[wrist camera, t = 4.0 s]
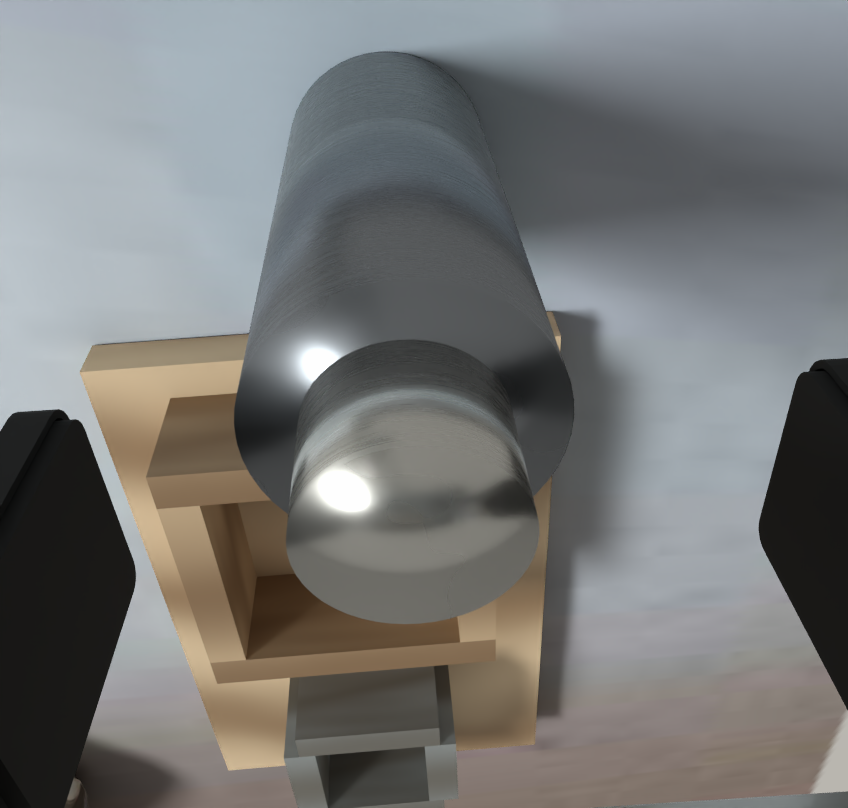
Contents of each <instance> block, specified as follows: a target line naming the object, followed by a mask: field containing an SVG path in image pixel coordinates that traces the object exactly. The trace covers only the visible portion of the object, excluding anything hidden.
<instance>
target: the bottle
mask: <svg viewBox="0 0 848 808" xmlns="http://www.w3.org/2000/svg"><path fill="white" fill-rule="evenodd" d="M573 420H574V398H573V392H572V387H571V382H570V379H569V376H568V373H567V370H566V367H565V365H564V362H563V359H562V356H561V353H560V350H559V347H558V345H557V342H556V339H555V336H554V333H553V330H552V327H551V325H550V322H549V319H548V316H547V313H546V310H545V307H544V305H543V302H542V299H541V296H540V293H539V290H538V287H537V285H536V282H535V279H534V276H533V273H532V270H531V267H530V265H529V262H528V259H527V256H526V253H525V250H524V247H523V245H522V242H521V239H520V236H519V233H518V230H517V227H516V225H515V222H514V219H513V216H512V213H511V210H510V207H509V205H508V202H507V199H506V196H505V193H504V190H503V187H502V185H501V182H500V179H499V176H498V173H497V170H496V168H495V165H494V162H493V159H492V156H491V153H490V150H489V148H488V145H487V142H486V139H485V136H484V133H483V130H482V128H481V125H480V122H479V119H478V116H477V113H476V110H475V108H474V106H473V105H472V103H471V101H470V99H469V97H468V96H467V94H466V93H465V92H464V90H463V89H462V87H461V86H460V85H459V84H458V83H457V82H456V81H455V80H454V79H453V78H452V77H451V76H450V75H448V74H447V73H446V72H445V71H444V70H442V69H440V68H439V67H437V66H436V65H434V64H432V63H430V62H428V61H426V60H424V59H421V58H419V57H415V56H412V55H409V54H404V53H397V52H375V53H368V54H363V55H360V56H356V57H353V58H350V59H348V60H346V61H343V62H341V63H339V64H338V65H336V66H334V67H333V68H331V69H330V70H328V71H327V72H326V73H325V74H323V75H322V76H321V77H320V78H319V79H318V80H317V81H316V82H315V83H314V84H313V85H312V86H311V87H310V89H309V90H308V91H307V93H306V94H305V96H304V97H303V99H302V101H301V103H300V105H299V107H298V109H297V111H296V114H295V117H294V120H293V123H292V128H291V132H290V137H289V142H288V147H287V152H286V157H285V162H284V166H283V171H282V176H281V181H280V186H279V191H278V196H277V200H276V205H275V210H274V215H273V220H272V225H271V230H270V234H269V239H268V244H267V249H266V254H265V259H264V264H263V268H262V273H261V278H260V283H259V288H258V293H257V298H256V302H255V307H254V312H253V317H252V322H251V327H250V332H249V336H248V341H247V346H246V351H245V356H244V361H243V366H242V370H241V375H240V380H239V385H238V390H237V395H236V401H235V406H234V429H235V435H236V442H237V445H238V448H239V451H240V454H241V457H242V460H243V462H244V464H245V466H246V468H247V470H248V472H249V473H250V475H251V477H252V478H253V479H254V481H255V482H256V484H257V485H258V486H259V488H260V489H261V490H262V491H263V492H264V493H265V494H266V495H267V496H268V497H269V499H270V500H271V501H272V502H273V503H275V504H276V505H277V506H278V507H280V508H281V509H282V510H283V511H285V512H286V513H287V514H288V521H287V532H286V548H287V555H288V558H289V561H290V564H291V566H292V568H293V570H294V572H295V574H296V576H297V577H298V578H299V580H300V581H301V582H302V584H303V585H304V586H305V587H306V588H307V589H308V590H309V591H310V592H311V593H312V594H313V595H315V596H316V597H317V598H319V599H320V600H321V601H323V602H324V603H326V604H328V605H330V606H331V607H333V608H335V609H337V610H339V611H342V612H344V613H346V614H349V615H352V616H355V617H358V618H361V619H366V620H370V621H375V622H382V623H390V624H421V623H429V622H436V621H441V620H446V619H451V618H454V617H457V616H461V615H464V614H467V613H469V612H472V611H474V610H477V609H479V608H481V607H483V606H485V605H487V604H488V603H490V602H492V601H493V600H495V599H497V598H498V597H500V596H501V595H503V594H504V593H505V592H506V591H507V590H509V589H510V588H511V587H512V586H513V585H514V584H515V583H516V582H517V581H518V580H519V579H520V578H521V577H522V576H523V574H524V573H525V571H526V570H527V569H528V567H529V565H530V564H531V562H532V560H533V558H534V556H535V553H536V550H537V547H538V541H539V535H540V533H539V520H538V516H537V511H536V507H535V503H534V499H533V496H534V495H536V493H537V492H538V491H539V490H540V489H541V488H542V487H543V486H544V485H545V484H546V482H547V481H548V480H549V478H550V477H551V476H552V474H553V473H554V471H555V470H556V468H557V467H558V465H559V463H560V461H561V459H562V457H563V455H564V453H565V451H566V448H567V445H568V442H569V439H570V436H571V432H572V426H573Z"/></svg>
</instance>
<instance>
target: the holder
mask: <svg viewBox="0 0 848 808" xmlns="http://www.w3.org/2000/svg"><path fill="white" fill-rule="evenodd" d="M546 313H547V316H548V319H549V322H550V325H551V327H552V330H553V333H554V336H555V339H556V342H557V345H558V347H559V350H560V346H561V334H560V332H559V329H558V326H557V324H556V321H555V318H554V315H553V313H552V312H546ZM248 336H249V334H242V335H229V336H215V337H202V338H188V339H175V340H161V341H148V342H134V343H121V344H107V345H94V346H92V347H91V350H90V352H89V354H88V356H87V358H86V360H85V362H84V364H83V366H82V368H81V370H80V374H81V377H82V380H83V382H84V385H85V388H86V390H87V393H88V396H89V398H90V401H91V404H92V406H93V409H94V412H95V414H96V417H97V420H98V422H99V425H100V428H101V430H102V433H103V436H104V438H105V441H106V444H107V446H108V449H109V452H110V455H111V457H112V460H113V463H114V465H115V468H116V471H117V473H118V476H119V479H120V481H121V484H122V487H123V489H124V492H125V495H126V497H127V500H128V503H129V505H130V508H131V511H132V513H133V516H134V519H135V521H136V524H137V527H138V529H139V532H140V535H141V537H142V540H143V543H144V545H145V548H146V551H147V554H148V556H149V559H150V562H151V564H152V567H153V570H154V572H155V575H156V578H157V580H158V583H159V586H160V588H161V591H162V594H163V596H164V599H165V602H166V604H167V607H168V610H169V612H170V615H171V618H172V620H173V623H174V626H175V628H176V631H177V634H178V636H179V639H180V642H181V644H182V647H183V650H184V653H185V655H186V658H187V661H188V663H189V666H190V669H191V671H192V674H193V677H194V679H195V682H196V685H197V687H198V690H199V693H200V695H201V698H202V701H203V703H204V706H205V709H206V711H207V714H208V717H209V719H210V722H211V725H212V727H213V730H214V733H215V735H216V738H217V741H218V743H219V746H220V749H221V752H222V754H223V757H224V760H225V762H226V765H227V768H228V770H238V769H250V768H262V767H274V766H285V765H286V768H287V772H288V775H289V779H290V782H291V786H292V789H293V792H294V796H295V799H296V803H297V806H298V808H444V800H447V799H458V780H457V758H456V751H462V750H473V749H485V748H497V747H509V746H520V745H532V744H535V732H536V716H537V701H538V686H539V670H540V655H541V639H542V624H543V608H544V593H545V577H546V562H547V546H548V531H549V516H550V500H551V485H552V476H551V477H550V478H549V480H548V481H547V482H546V484H545V485H544V486H543V487H542V488H541V489H540V490H539V491H538V492H537V493H536V495H534V496H533V499H534V503H535V507H536V511H537V516H538V520H539V533H540V535H539V541H538V547H537V550H536V553H535V556H534V558H533V560H532V562H531V564H530V565H529V567H528V569H527V570H526V571H525V573H524V574H523V576H522V577H521V578H520V579H519V580H518V581H517V582H516V583H515V584H514V585H513V586H512V587H511V588H510V589H509V590H507V591H506V592H505V593H504V594H503V595H501V596H500V597H498V598H497V599H495V600H493V601H492V602H490V603H488V604H487V605H485V606H483V607H481V608H479V609H477V610H474V611H472V612H469V613H467V614H464V615H461V616H457V617H454V618H451V619H446V620H441V621H436V622H429V623H421V624H390V623H382V622H375V621H370V620H366V619H361V618H358V617H355V616H352V615H349V614H346V613H344V612H342V611H339V610H337V609H335V608H333V607H331V606H330V605H328V604H326V603H324V602H323V601H321V600H320V599H319V598H317V597H316V596H315V595H313V594H312V593H311V592H310V591H309V590H308V589H307V588H306V587H305V586H304V585H303V584H302V582H301V581H300V580H299V578H298V577H297V576H296V574H295V572H294V570H293V568H292V566H291V564H290V561H289V558H288V555H287V548H286V532H287V521H288V514H287V513H286V512H285V511H283V510H282V509H281V508H280V507H278V506H277V505H276V504H275V503H273V502H272V501H271V500H270V499H269V497H268V496H267V495H266V494H265V493H264V492H263V491H262V490H261V489H260V488H259V486H258V485H257V484H256V482H255V481H254V479H253V478H252V477H251V475H250V473H249V472H248V470H247V468H246V466H245V464H244V462H243V460H242V457H241V454H240V451H239V448H238V445H237V442H236V435H235V429H234V406H235V401H236V395H237V390H238V385H239V380H240V375H241V370H242V366H243V361H244V356H245V351H246V346H247V341H248Z"/></svg>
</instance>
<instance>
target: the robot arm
mask: <svg viewBox="0 0 848 808" xmlns="http://www.w3.org/2000/svg"><path fill="white" fill-rule="evenodd" d="M759 536H760V541H761V544H762V547H763V549H764V551H765V553H766V555H767V557H768V559H769V561H770V563H771V565H772V566H773V568H774V570H775V572H776V574H777V576H778V578H779V580H780V582H781V584H782V586H783V587H784V589H785V591H786V593H787V595H788V597H789V599H790V601H791V603H792V605H793V607H794V608H795V610H796V612H797V614H798V616H799V618H800V620H801V622H802V624H803V626H804V628H805V629H806V631H807V633H808V635H809V637H810V639H811V641H812V643H813V645H814V647H815V649H816V650H817V652H818V654H819V656H820V658H821V660H822V662H823V664H824V666H825V668H826V670H827V672H828V673H829V675H830V677H831V679H832V681H833V683H834V685H835V687H836V689H837V691H838V693H839V694H840V696H841V698H842V700H843V702H844V704H845V706H846V708H847V710H848V358H843V359H827V360H819V361H816V362H815V363H814V364H813V365H812V366H811V368H810V371H809V372H803V373H801V374H800V375H799V377H798V379H797V381H796V384H795V388H794V392H793V395H792V399H791V403H790V407H789V411H788V414H787V418H786V422H785V426H784V429H783V433H782V437H781V441H780V445H779V448H778V452H777V456H776V460H775V463H774V467H773V471H772V475H771V479H770V482H769V486H768V490H767V494H766V497H765V501H764V505H763V509H762V513H761V516H760V521H759ZM135 581H136V571H135V565H134V561H133V558H132V555H131V553H130V550H129V547H128V545H127V542H126V539H125V537H124V534H123V531H122V528H121V526H120V523H119V520H118V518H117V515H116V512H115V510H114V507H113V504H112V502H111V499H110V496H109V493H108V491H107V488H106V485H105V483H104V480H103V477H102V475H101V472H100V469H99V467H98V464H97V461H96V458H95V456H94V453H93V450H92V448H91V445H90V442H89V440H88V437H87V434H86V431H85V429H84V427H83V425H82V423H81V422H80V421H79V420H70V419H69V417H68V416H67V414H66V413H65V412H64V411H62V410H59V409H58V410H43V411H28V412H17V413H14V414H12V415H11V416H10V417H9V418H8V420H7V421H6V423H5V425H4V426H3V428H2V429H1V431H0V808H64V807H65V804H66V801H67V798H68V795H69V792H70V789H71V785H72V782H73V779H74V776H75V773H76V770H77V767H78V764H79V760H80V757H81V754H82V751H83V748H84V745H85V742H86V739H87V736H88V732H89V729H90V726H91V723H92V720H93V717H94V714H95V711H96V707H97V704H98V701H99V698H100V695H101V692H102V689H103V686H104V682H105V679H106V676H107V673H108V670H109V667H110V664H111V661H112V657H113V654H114V651H115V648H116V645H117V642H118V639H119V636H120V632H121V629H122V626H123V623H124V620H125V617H126V614H127V611H128V608H129V604H130V601H131V598H132V595H133V592H134V588H135ZM597 808H848V792H834V793H818V794H802V795H786V796H770V797H754V798H738V799H722V800H706V801H691V802H675V803H659V804H643V805H627V806H612V807H597Z"/></svg>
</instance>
